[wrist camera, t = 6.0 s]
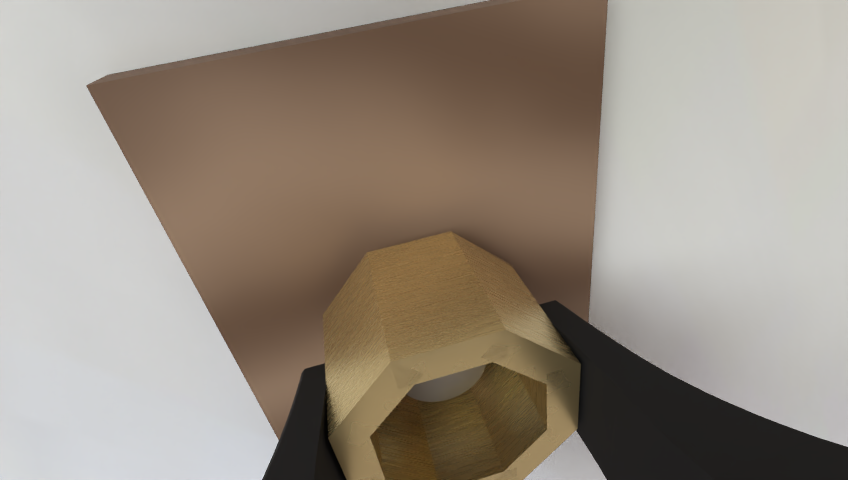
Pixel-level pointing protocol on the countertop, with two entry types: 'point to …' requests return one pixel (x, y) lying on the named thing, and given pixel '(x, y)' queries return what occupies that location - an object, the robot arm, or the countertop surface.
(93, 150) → the countertop surface
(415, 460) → the brass collar
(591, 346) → the robot arm
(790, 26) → the countertop surface
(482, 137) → the hub board
